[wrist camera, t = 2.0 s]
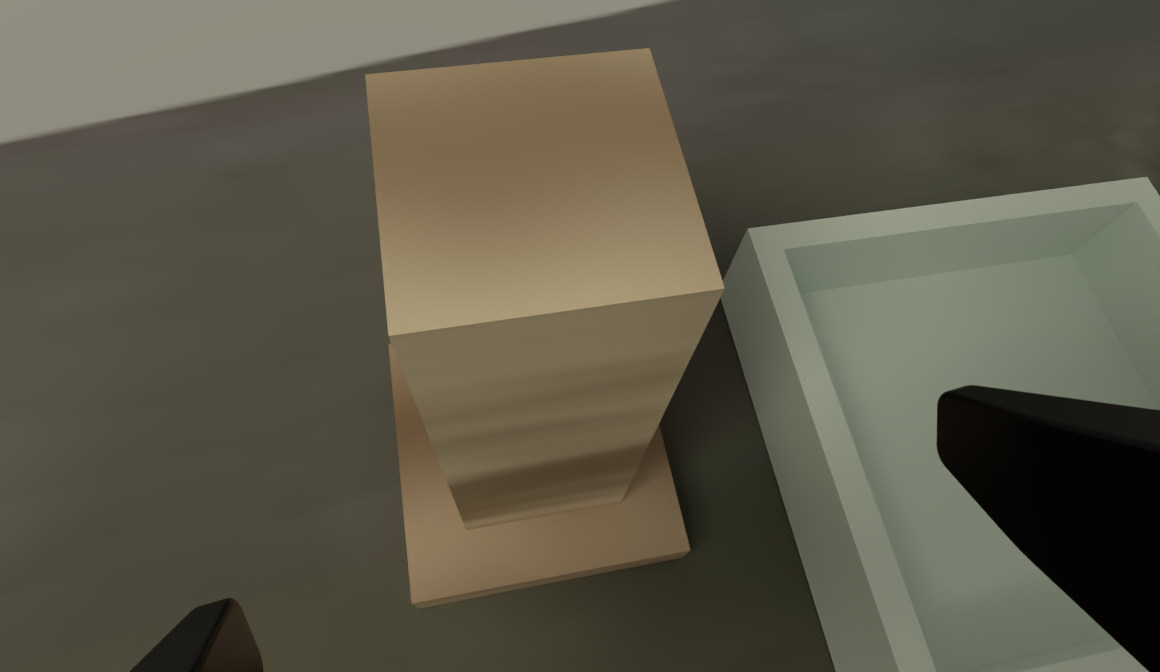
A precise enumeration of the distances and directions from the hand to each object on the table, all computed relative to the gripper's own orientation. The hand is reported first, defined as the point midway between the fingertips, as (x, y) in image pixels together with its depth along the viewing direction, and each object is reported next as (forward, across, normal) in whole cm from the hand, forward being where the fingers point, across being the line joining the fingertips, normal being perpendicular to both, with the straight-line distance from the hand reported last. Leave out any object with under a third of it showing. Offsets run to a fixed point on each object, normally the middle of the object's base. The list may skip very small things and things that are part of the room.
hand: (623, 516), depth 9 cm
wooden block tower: (+11, 0, +5) cm, 12 cm away
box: (+8, -13, +7) cm, 17 cm away
